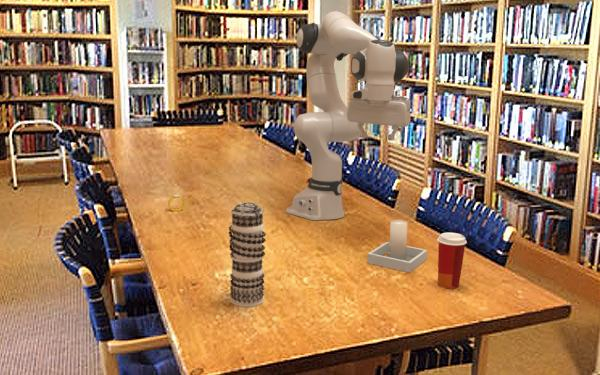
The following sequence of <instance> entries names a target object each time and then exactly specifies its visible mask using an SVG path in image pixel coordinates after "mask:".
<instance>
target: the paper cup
mask: <svg viewBox="0 0 600 375" xmlns="http://www.w3.org/2000/svg"><path fill="white" fill-rule="evenodd" d="M436 241H437V242H438V251H437V252H438V254H437V255H438V256H437V257H438V258H437V260H438V262H437V266H438V267H437V283H438V284H437V285H438V286H440V287H441V288H445V289H451V290H452V289H456V288H459V285H460V280H461V275H462V269H463V263H464V256H465V255H464V253H465V247H466V244H467V243H468V242H467V240H466V237H465V235H463V234H461V233H456V232H443V233H441V234H440V235H439V236H438V238H437V239H436Z"/></svg>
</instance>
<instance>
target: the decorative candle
mask: <svg viewBox="0 0 600 375" xmlns="http://www.w3.org/2000/svg"><path fill="white" fill-rule="evenodd" d="M264 213H265V210H264V209H263V208H261V207H260V205H259V204H257V203H254V202H242V203H238V204H237V205H235V207H234V208H233V209H231V224H230V225H229V227H228V230H229V231H228V237H229V238H230V239H229V245H228V247H229V250H230V251H231V252H230V253H229V255H230V259H231V261H232V262H231V264H232V265H231V273H230V276H229V277H230V285H231V286H230V287H229V289H230V293H229V295H230V302H231V303H232V305H235V306H237V307H244V308H249V307H250V308H253V307H256V306H257V307H258V306H259V305H261V304H263V302H264V301H265V298H264V296H265V285H264V283H265V281H264V280H265V279H264V278H265V274H264V267H263V259H264V258H265V255H266V253H265V251H264V250H265V249H266V247H265V245H263V244H264V243H265V242H266V241H267V240H266V238H265V237H266V234H267V233H266V232H265V231H263V230H264V222H263V219H264V215H263V214H264Z"/></svg>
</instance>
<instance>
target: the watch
mask: <svg viewBox="0 0 600 375" xmlns="http://www.w3.org/2000/svg"><path fill="white" fill-rule="evenodd" d="M173 199H181V200H182V204H181V207H180V208H178V209H177V208H176V209H175V208H172V207H171V205H170V204H171V201H172V200H173ZM167 205H168V207H169V209H170V211H172V212H178V211H179V212H181V211H182V210H183V209H184V207H185V200H184V198H183V197H182V196H181V194H173V195H172V196H171V197H170V198H169V200H168V204H167Z"/></svg>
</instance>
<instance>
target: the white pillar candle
mask: <svg viewBox="0 0 600 375" xmlns="http://www.w3.org/2000/svg"><path fill="white" fill-rule="evenodd" d="M407 238H408V221H406V220H404V219H392V220H391V221H390V227H389V242H390V246H389V252H388V254H389V257H390V258H395V259H399V260H404V261H406V257H407V256H406V246H407V240H408V239H407Z"/></svg>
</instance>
